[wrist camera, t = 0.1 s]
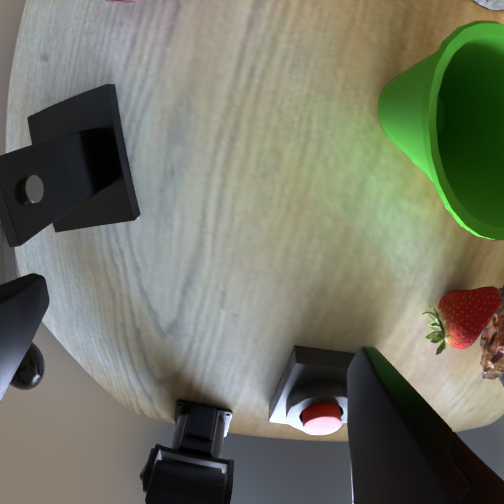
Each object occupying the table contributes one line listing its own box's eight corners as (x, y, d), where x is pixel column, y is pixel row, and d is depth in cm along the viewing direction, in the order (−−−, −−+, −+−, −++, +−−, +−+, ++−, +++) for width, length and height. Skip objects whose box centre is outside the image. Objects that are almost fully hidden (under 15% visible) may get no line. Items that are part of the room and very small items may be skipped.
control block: (336, 412, 32) (339, 440, 28) (269, 405, 32) (267, 435, 28) (373, 355, 27) (382, 386, 24) (294, 344, 27) (296, 378, 23)
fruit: (511, 305, 17) (425, 354, 20) (512, 330, 19) (438, 370, 23) (485, 257, 20) (408, 302, 24) (491, 287, 23) (424, 325, 27)
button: (331, 422, 27) (333, 436, 26) (297, 419, 27) (297, 434, 25) (345, 402, 25) (348, 417, 24) (309, 399, 25) (310, 414, 24)
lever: (60, 383, 14) (27, 402, 11) (28, 375, 14) (-3, 391, 11) (36, 172, 14) (-1, 163, 11) (6, 183, 14) (-29, 177, 11)
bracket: (140, 214, 22) (61, 296, 13) (62, 227, 23) (-20, 296, 14) (115, 84, 18) (4, 87, 8) (36, 115, 19) (-67, 144, 9)
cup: (322, 83, 17) (376, 63, 8) (426, 33, 15) (529, 4, 5) (386, 197, 20) (465, 279, 11) (477, 143, 18) (582, 187, 8)
